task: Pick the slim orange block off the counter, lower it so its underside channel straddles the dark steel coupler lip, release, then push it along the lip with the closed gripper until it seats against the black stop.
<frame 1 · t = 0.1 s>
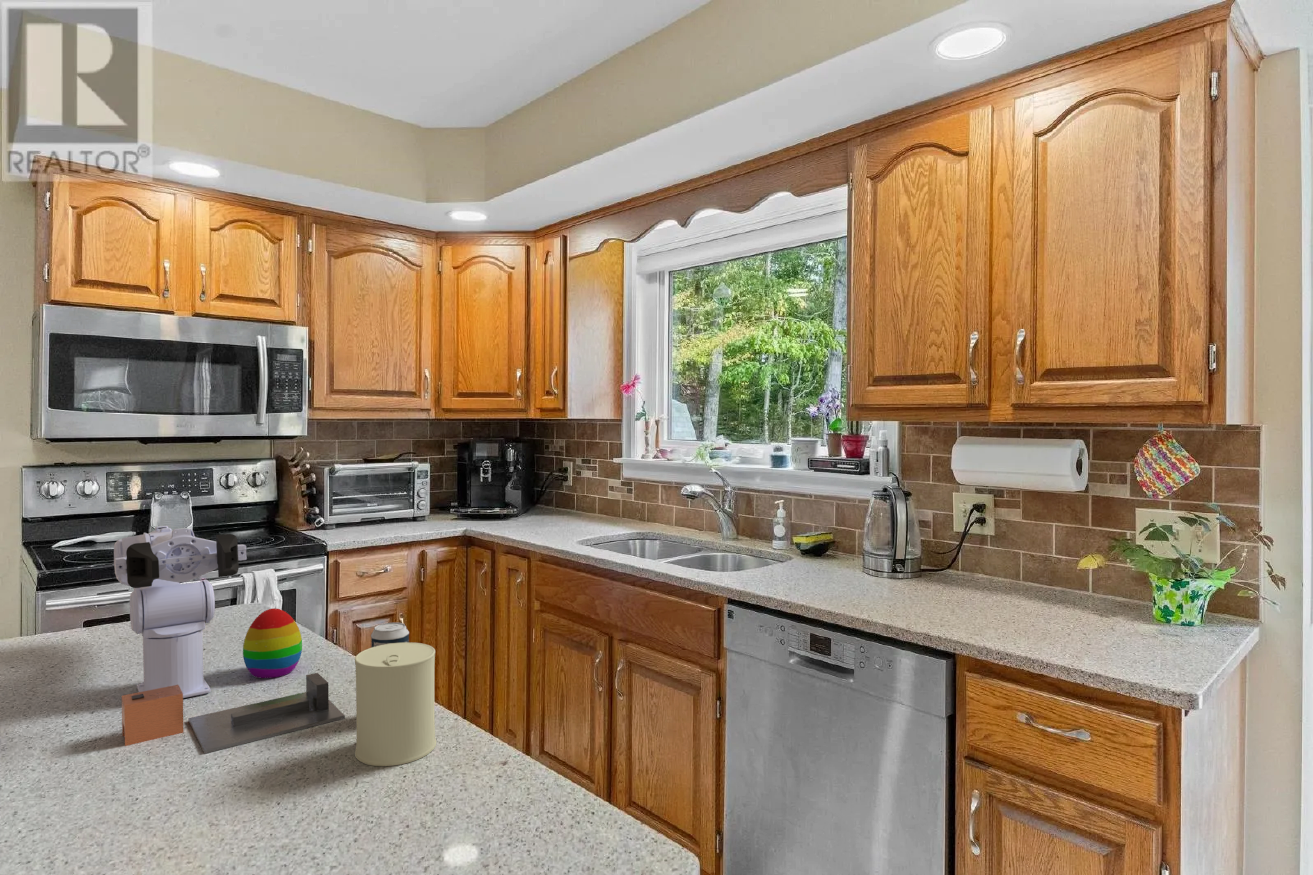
hand: (192, 564, 91), 22 cm above the countertop, tool horizontal, fingers open, 7 cm apart
decorative egg: (273, 674, 115), on the countertop
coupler: (267, 719, 97), on the countertop
beer can: (390, 717, 99), on the countertop
can: (396, 750, 89), on the countertop
orange block: (153, 733, 93), on the countertop
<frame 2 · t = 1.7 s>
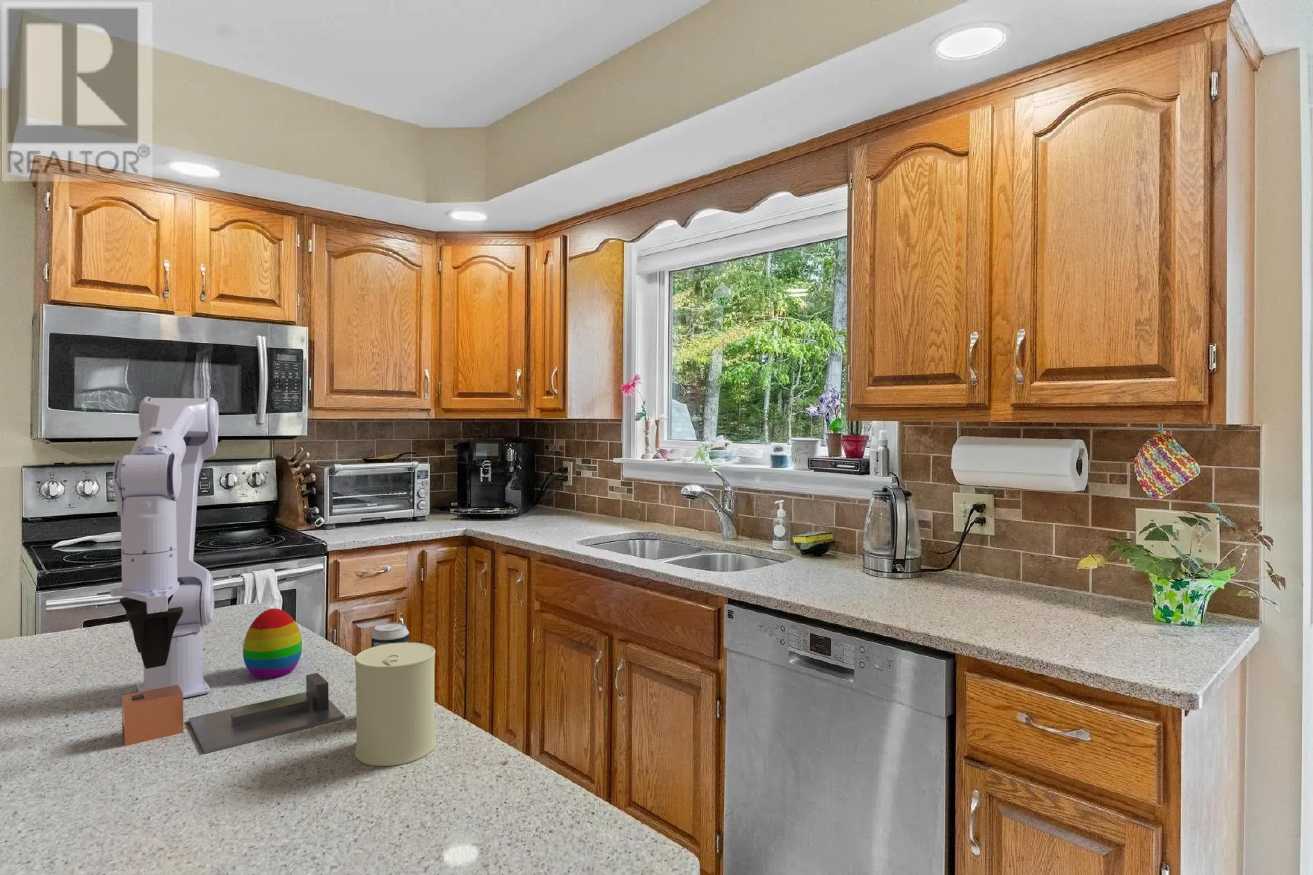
hand: (151, 658, 93), 10 cm above the countertop, tool pointing down, fingers open, 7 cm apart
nothing on the countertop moved.
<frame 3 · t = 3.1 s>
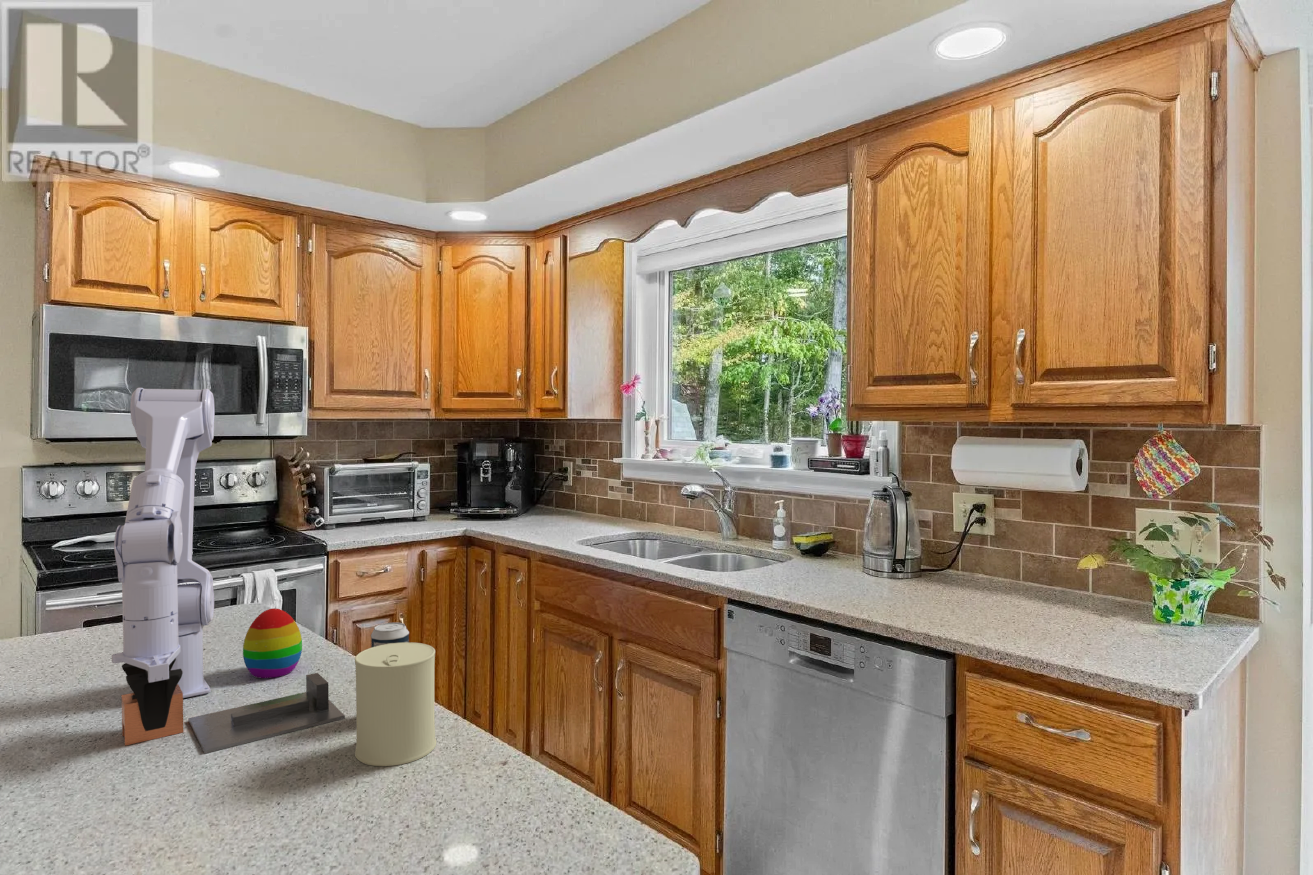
hand: (152, 722, 93), 1 cm above the countertop, tool pointing down, fingers closed on orange block, 4 cm apart
orange block: (152, 733, 93), on the countertop, touching gripper
everything else where it was.
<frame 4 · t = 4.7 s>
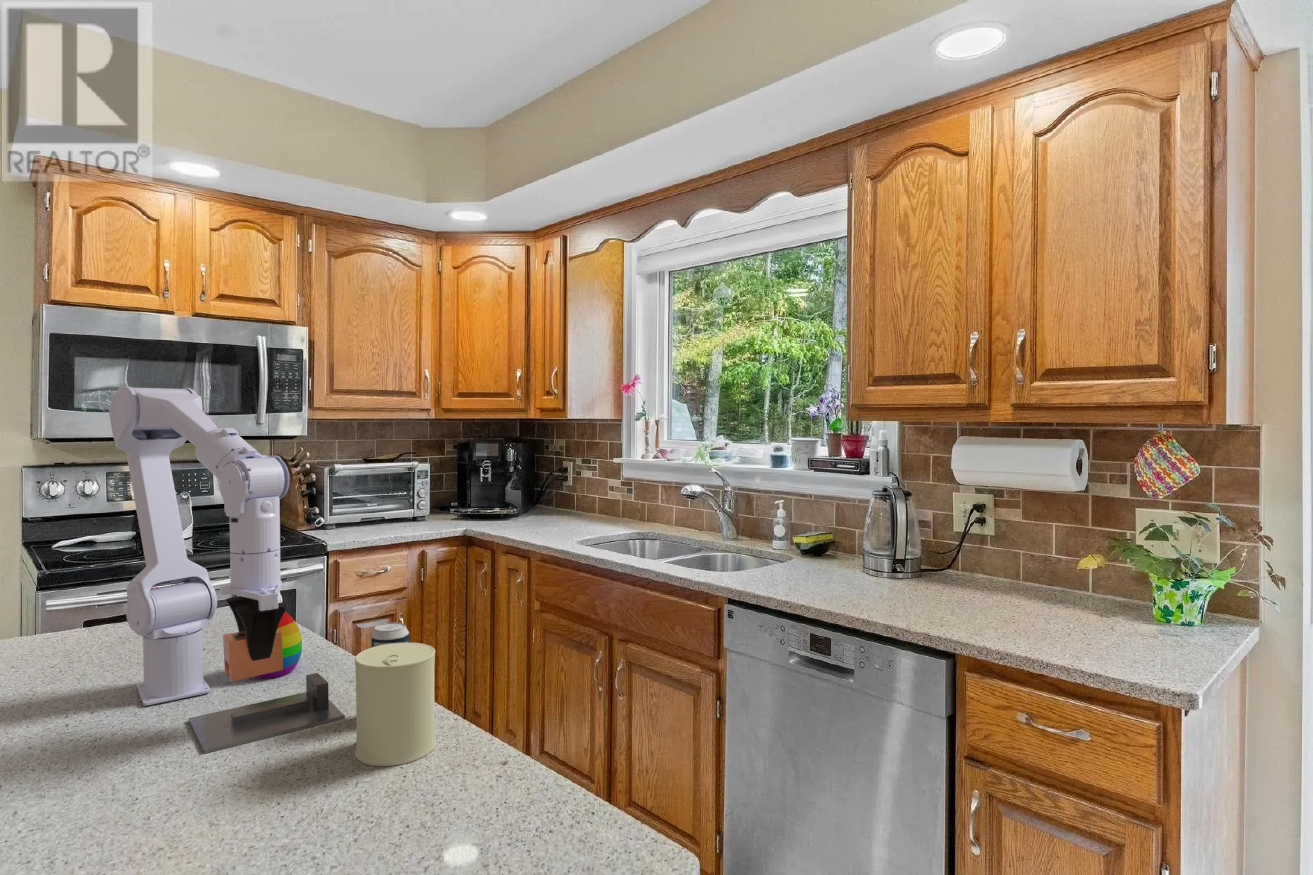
hand: (256, 654, 96), 9 cm above the countertop, tool pointing down, fingers closed on orange block, 4 cm apart
orange block: (254, 671, 96), point 7 cm above the countertop, touching gripper
everything else where it was.
when the fingers open (2 cm above the countertop, at t = 6.4 s): orange block stays where it is, resting on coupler.
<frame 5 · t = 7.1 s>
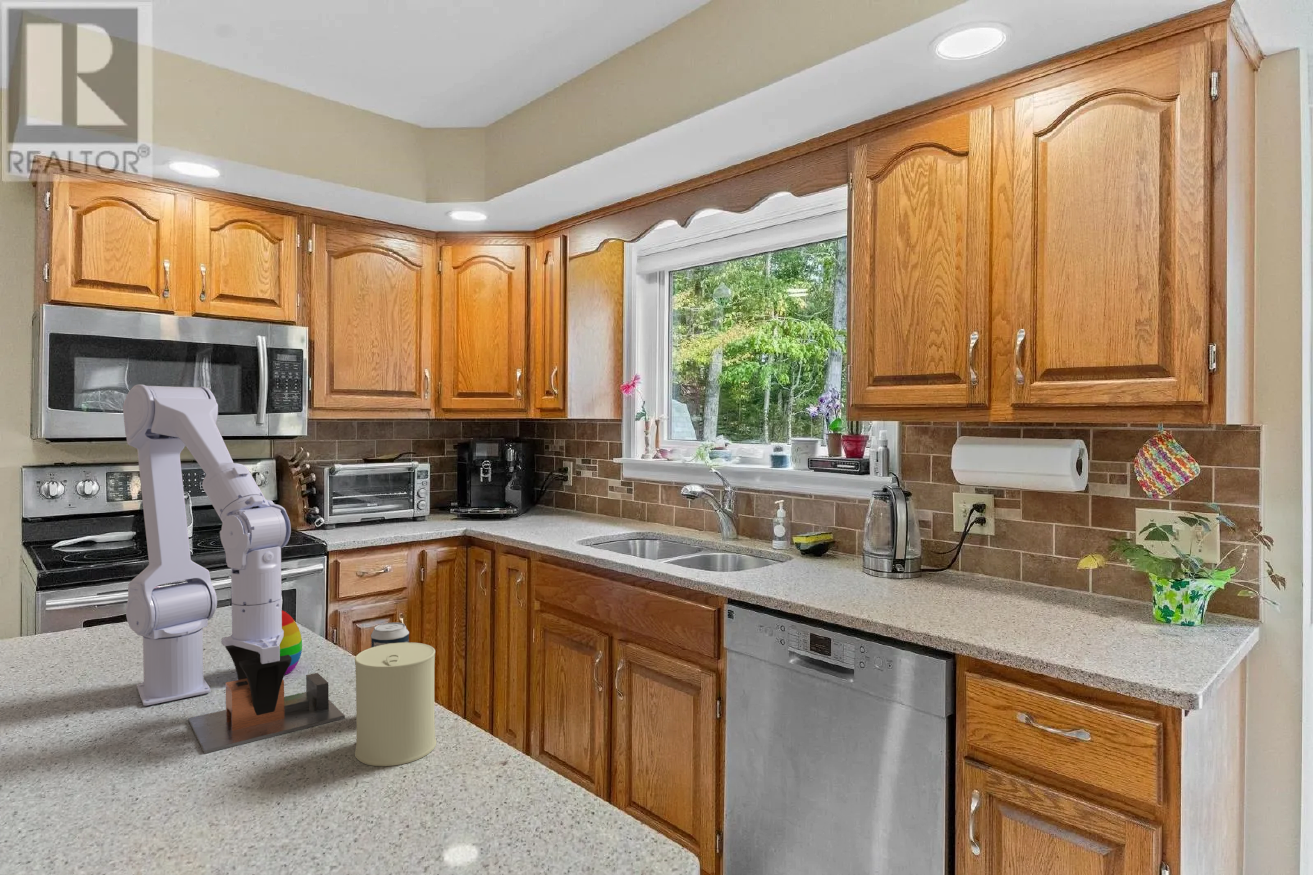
hand: (258, 703, 97), 2 cm above the countertop, tool pointing down, fingers open, 7 cm apart
orange block: (255, 719, 96), resting on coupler
everything else where it was.
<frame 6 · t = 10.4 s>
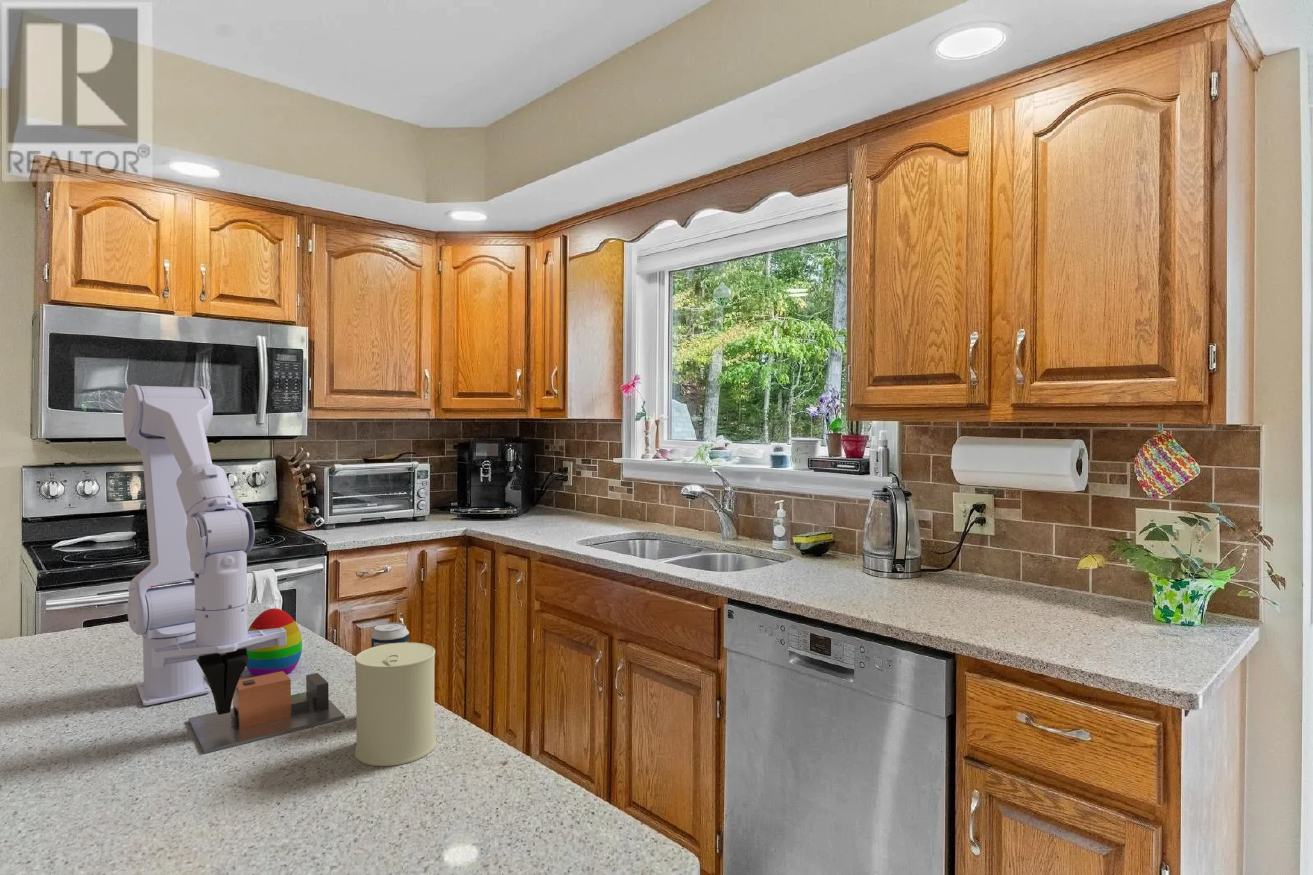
hand: (223, 711, 94), 2 cm above the countertop, tool pointing down, fingers closed
orange block: (262, 718, 97), resting on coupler, touching gripper
everything else where it was.
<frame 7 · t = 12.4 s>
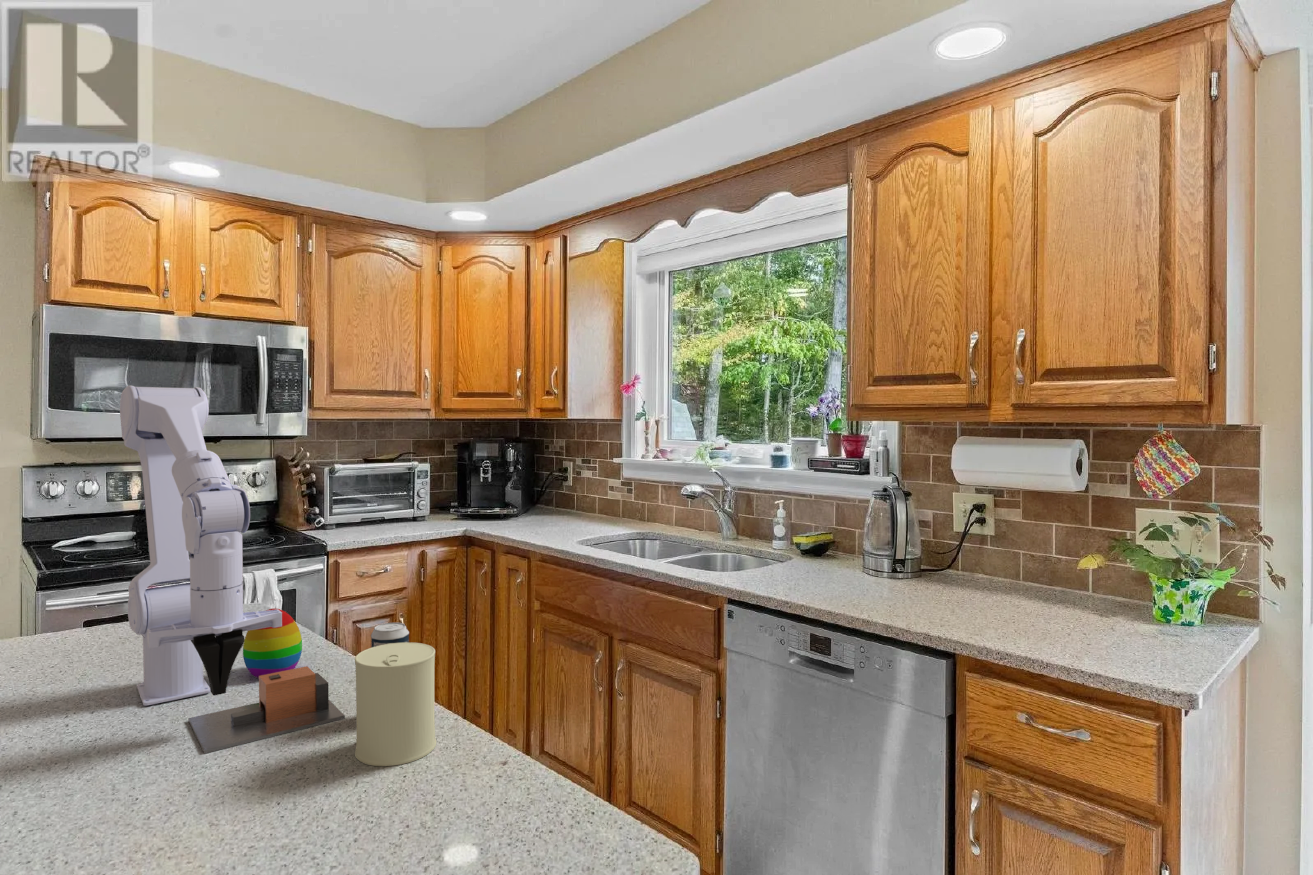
hand: (218, 692, 94), 5 cm above the countertop, tool pointing down, fingers closed
orange block: (287, 712, 99), resting on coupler
everything else where it was.
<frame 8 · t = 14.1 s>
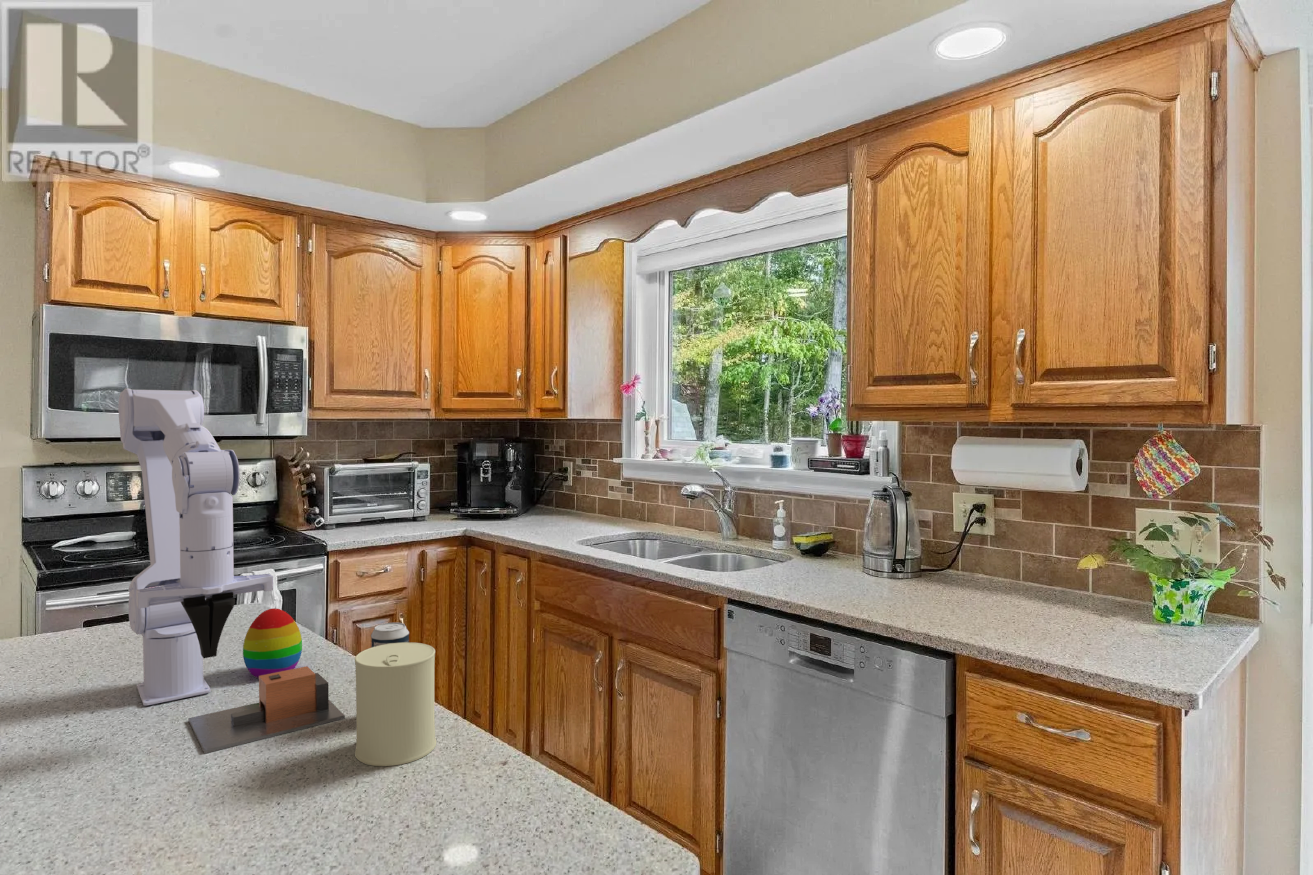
hand: (208, 655, 93), 10 cm above the countertop, tool pointing down, fingers closed
nothing on the countertop moved.
at the end: orange block 0.5 cm from the target spot on the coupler, point 0.4 cm above the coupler's base; orange block tilted 0°; orange block moved 15.2 cm from its start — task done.
